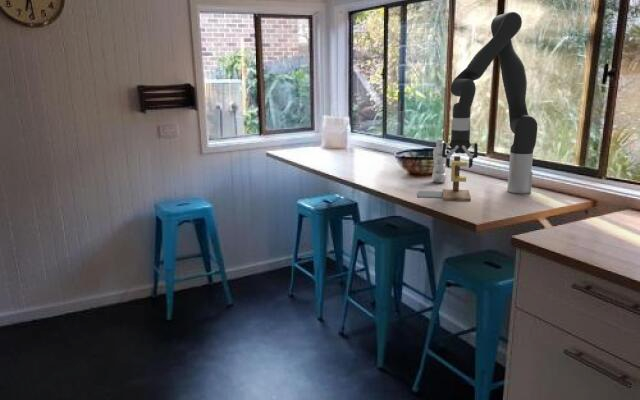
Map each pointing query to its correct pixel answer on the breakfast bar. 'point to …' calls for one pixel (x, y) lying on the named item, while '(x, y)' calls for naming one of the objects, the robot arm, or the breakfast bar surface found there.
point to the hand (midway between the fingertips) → (458, 167)
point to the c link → (454, 178)
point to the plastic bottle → (439, 163)
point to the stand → (456, 189)
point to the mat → (429, 194)
